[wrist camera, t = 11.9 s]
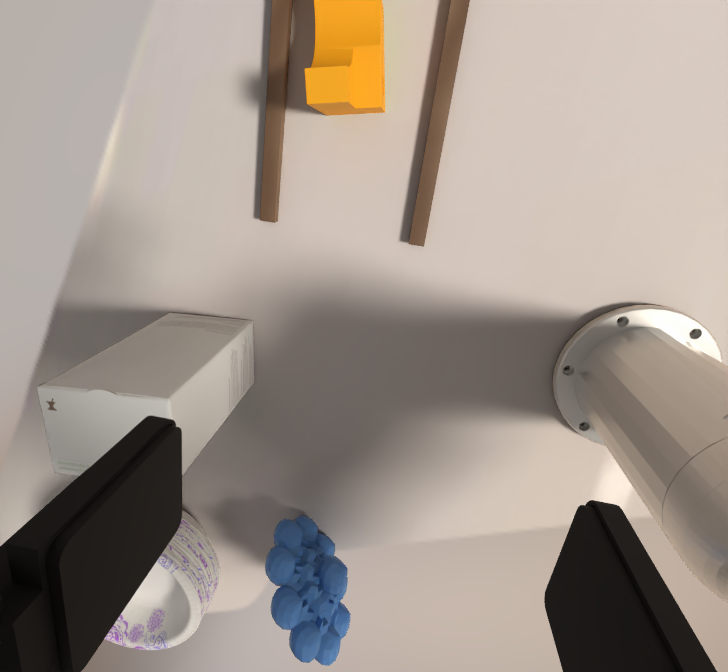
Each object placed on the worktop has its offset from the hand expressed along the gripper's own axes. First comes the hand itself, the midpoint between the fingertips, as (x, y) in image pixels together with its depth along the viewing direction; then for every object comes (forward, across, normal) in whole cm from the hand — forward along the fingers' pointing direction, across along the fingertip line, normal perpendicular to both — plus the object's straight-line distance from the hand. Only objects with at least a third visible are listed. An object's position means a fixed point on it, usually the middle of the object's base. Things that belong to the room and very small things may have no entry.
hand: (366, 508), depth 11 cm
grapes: (+28, +3, +29) cm, 41 cm away
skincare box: (+28, +16, +10) cm, 34 cm away
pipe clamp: (+29, +7, -16) cm, 34 cm away
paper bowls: (+28, +21, +34) cm, 49 cm away
